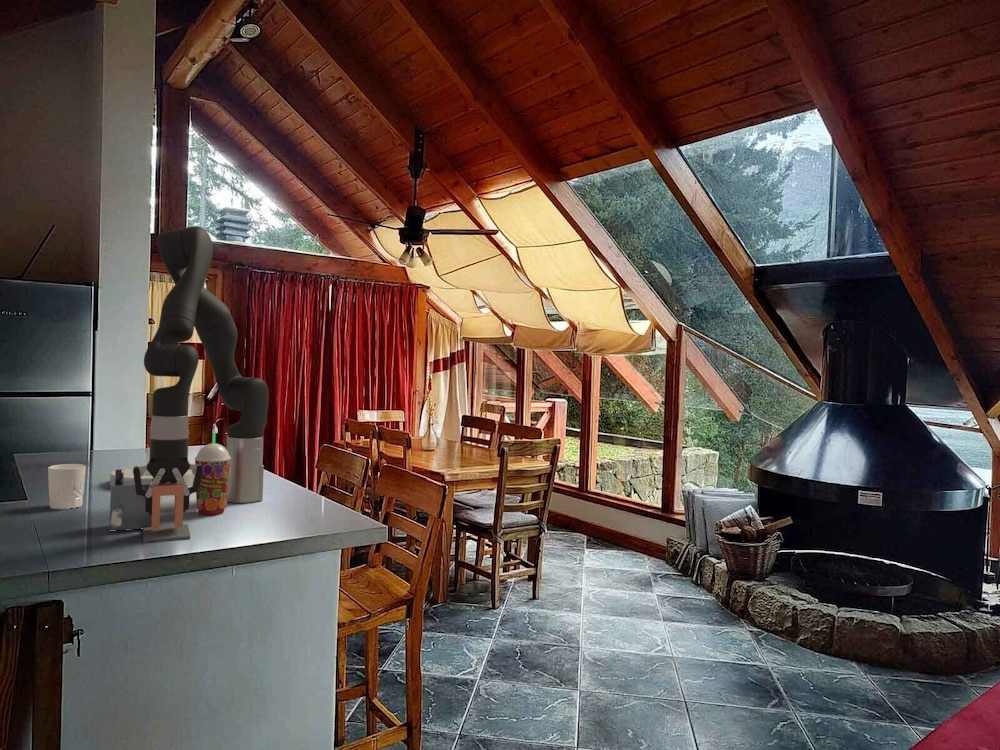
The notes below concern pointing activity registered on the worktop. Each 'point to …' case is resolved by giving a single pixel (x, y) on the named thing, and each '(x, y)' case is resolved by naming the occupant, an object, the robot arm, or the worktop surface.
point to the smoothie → (213, 478)
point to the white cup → (66, 485)
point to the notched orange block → (167, 490)
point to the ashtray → (149, 476)
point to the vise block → (127, 504)
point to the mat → (166, 533)
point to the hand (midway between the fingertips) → (167, 512)
